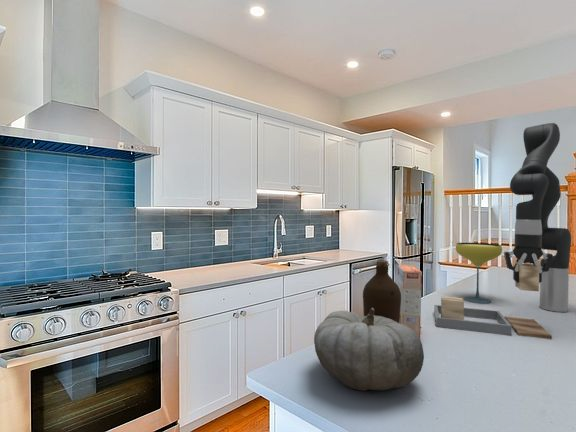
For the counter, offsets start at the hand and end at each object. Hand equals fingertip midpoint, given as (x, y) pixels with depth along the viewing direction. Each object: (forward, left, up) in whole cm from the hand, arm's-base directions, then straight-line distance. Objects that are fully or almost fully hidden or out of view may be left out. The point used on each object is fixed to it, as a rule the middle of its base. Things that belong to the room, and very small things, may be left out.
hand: (527, 282), depth 117 cm
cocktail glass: (-36, -9, -16) cm, 40 cm away
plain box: (+1, -23, -16) cm, 28 cm away
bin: (+1, -17, -15) cm, 23 cm away
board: (0, 0, -15) cm, 15 cm away
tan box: (0, 0, -2) cm, 2 cm away
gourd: (+56, -46, -16) cm, 75 cm away
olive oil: (+36, -44, -16) cm, 59 cm away
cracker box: (+18, -37, -16) cm, 44 cm away
